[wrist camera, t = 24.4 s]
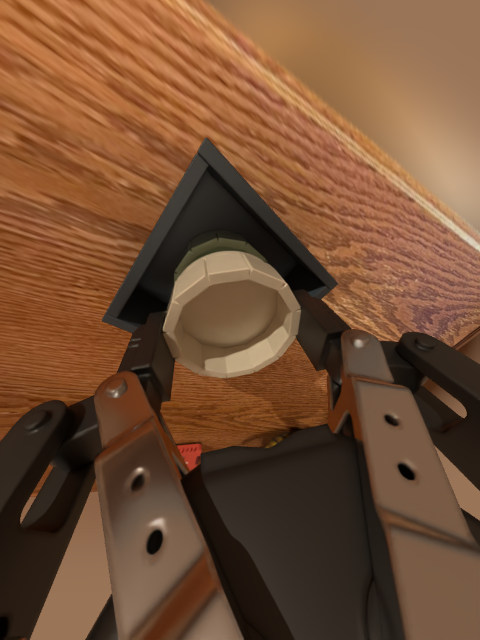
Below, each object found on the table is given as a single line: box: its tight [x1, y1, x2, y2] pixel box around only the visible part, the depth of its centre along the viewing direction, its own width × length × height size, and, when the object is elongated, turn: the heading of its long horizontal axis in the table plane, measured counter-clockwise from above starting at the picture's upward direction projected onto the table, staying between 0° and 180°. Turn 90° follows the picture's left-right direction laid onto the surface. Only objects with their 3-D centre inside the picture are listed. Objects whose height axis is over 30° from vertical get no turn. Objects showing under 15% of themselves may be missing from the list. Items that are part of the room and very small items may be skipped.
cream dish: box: [162, 251, 301, 378], centre depth 10 cm, size 6×6×2 cm
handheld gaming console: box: [177, 444, 202, 470], centre depth 32 cm, size 9×1×15 cm
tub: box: [102, 138, 338, 333], centre depth 13 cm, size 10×10×5 cm
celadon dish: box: [174, 230, 268, 284], centre depth 14 cm, size 6×6×2 cm
